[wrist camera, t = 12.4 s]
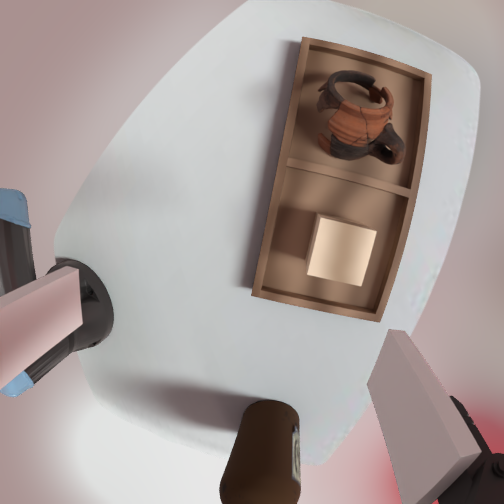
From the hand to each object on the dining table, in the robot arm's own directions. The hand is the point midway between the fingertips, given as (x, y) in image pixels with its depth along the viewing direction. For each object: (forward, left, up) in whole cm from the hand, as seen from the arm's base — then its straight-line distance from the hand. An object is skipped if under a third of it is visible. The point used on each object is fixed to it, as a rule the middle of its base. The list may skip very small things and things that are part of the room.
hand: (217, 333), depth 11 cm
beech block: (+8, 0, -25) cm, 27 cm away
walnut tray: (+8, +8, -26) cm, 28 cm away
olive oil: (+7, -31, -26) cm, 41 cm away
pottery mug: (+8, +15, -26) cm, 30 cm away
